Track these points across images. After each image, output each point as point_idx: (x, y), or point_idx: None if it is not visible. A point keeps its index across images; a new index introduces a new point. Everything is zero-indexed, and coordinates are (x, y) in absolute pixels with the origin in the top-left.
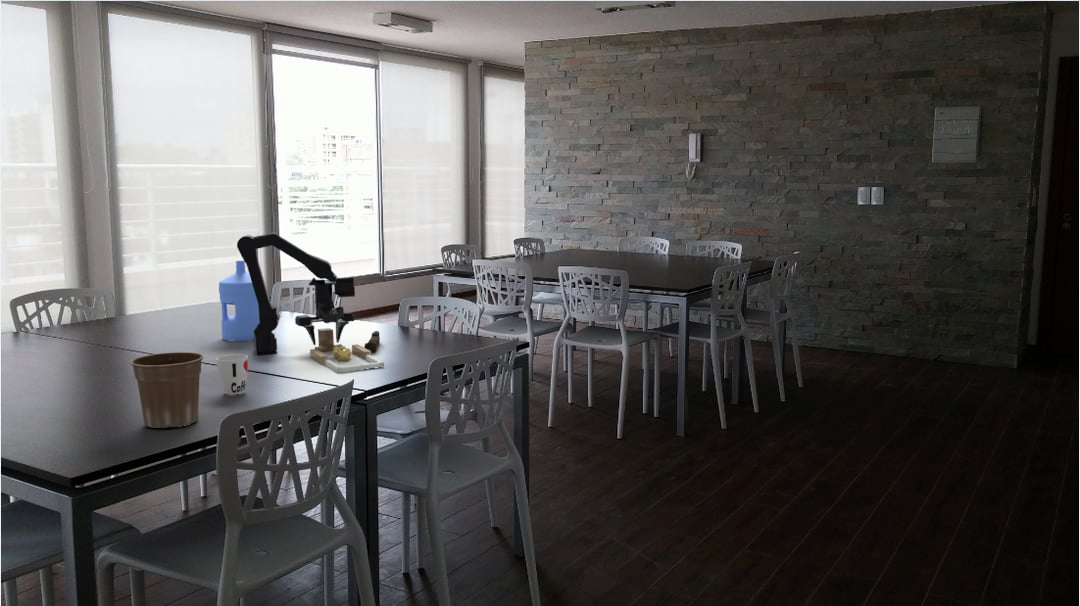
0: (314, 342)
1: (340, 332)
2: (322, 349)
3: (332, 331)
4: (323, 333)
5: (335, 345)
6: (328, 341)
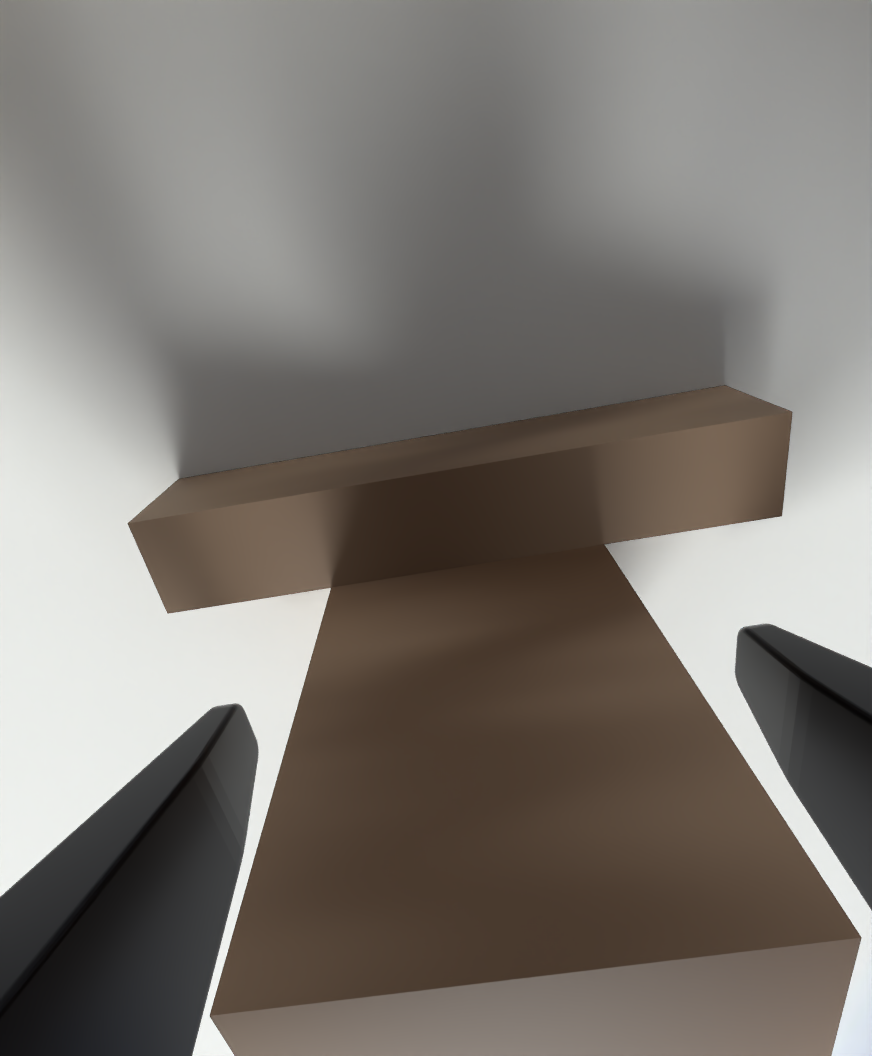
0: (804, 650)
1: (4, 925)
2: (609, 423)
3: (270, 920)
4: (686, 814)
5: (295, 522)
6: (456, 621)
